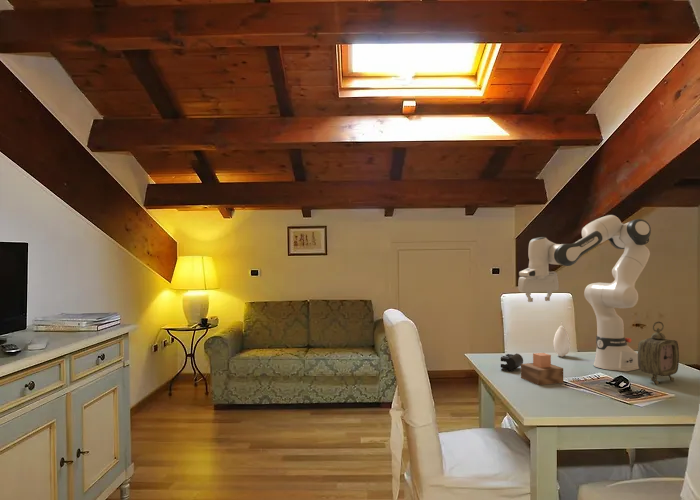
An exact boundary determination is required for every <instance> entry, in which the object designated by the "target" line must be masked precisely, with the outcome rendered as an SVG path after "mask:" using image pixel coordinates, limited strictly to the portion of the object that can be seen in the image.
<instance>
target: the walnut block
mask: <svg viewBox="0 0 700 500" xmlns="http://www.w3.org/2000/svg"><path fill="white" fill-rule="evenodd" d="M520 378H521V379H523V380H525V381H527V382H530V383H532V384H535V385H537V386H541V385H543V386H544V385H555V384H563V383H564V367H561V366H557V365H554V364H552V363H551V367H545V368H540V367H537V366H534V365H533V362H530V363H529V362H528V363H523V364H521V366H520Z"/></svg>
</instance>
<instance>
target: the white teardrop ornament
mask: <svg viewBox="0 0 700 500" xmlns="http://www.w3.org/2000/svg"><path fill="white" fill-rule="evenodd" d="M570 348H571V339H570V336H569V334H568V331H567V329H566V328H565V326H563V321H561V323H560V326H558V328H557V330H556V331H555V334H554V336H553V349H554V352H555V354H557V356H559V357H561V358H562V357H566V355H568V354H569V351H570Z"/></svg>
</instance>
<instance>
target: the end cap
mask: <svg viewBox="0 0 700 500" xmlns="http://www.w3.org/2000/svg"><path fill="white" fill-rule="evenodd" d="M500 362H504V363H506V364H504V363H500V371H501V372H502V371H503V372H509V373H510V372H513V371H514V370H516V369H518V368H521V364H524V357H523V356H522V355H521V354H519V353H514V354H512V353H511V354H510V353H507V354H505V355H502V356H501V357H500Z"/></svg>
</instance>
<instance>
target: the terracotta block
mask: <svg viewBox="0 0 700 500" xmlns="http://www.w3.org/2000/svg"><path fill="white" fill-rule="evenodd" d="M551 359H552V355H551V354H549V353H545V352H535V353H532V363H533V365H534V366H537V367H540V368H545V367H551V364H552V360H551Z"/></svg>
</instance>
